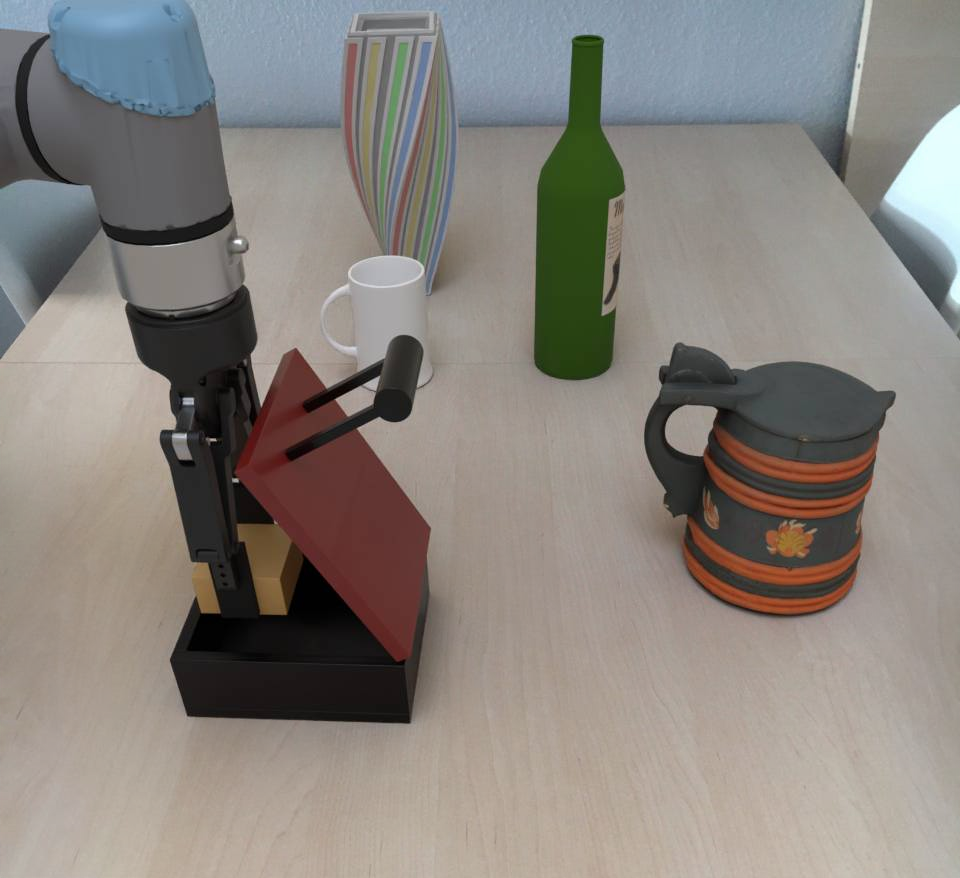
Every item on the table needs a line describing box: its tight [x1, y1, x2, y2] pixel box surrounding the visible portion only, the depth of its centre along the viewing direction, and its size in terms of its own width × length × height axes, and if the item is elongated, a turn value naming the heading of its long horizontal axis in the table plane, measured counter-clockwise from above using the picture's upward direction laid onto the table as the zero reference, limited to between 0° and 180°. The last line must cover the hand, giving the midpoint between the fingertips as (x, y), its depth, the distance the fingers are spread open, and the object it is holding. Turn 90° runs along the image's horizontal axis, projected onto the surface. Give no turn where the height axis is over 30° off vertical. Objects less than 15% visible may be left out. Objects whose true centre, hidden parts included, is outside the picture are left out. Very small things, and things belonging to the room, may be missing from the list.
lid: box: [234, 335, 432, 662], centre depth 70 cm, size 18×15×11 cm
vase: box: [339, 10, 460, 296], centre depth 122 cm, size 14×14×30 cm
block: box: [190, 523, 303, 615], centre depth 77 cm, size 6×6×4 cm
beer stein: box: [643, 341, 897, 616], centre depth 83 cm, size 19×15×20 cm
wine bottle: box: [533, 34, 627, 381], centre depth 106 cm, size 9×9×32 cm
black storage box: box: [169, 553, 431, 724], centre depth 80 cm, size 17×15×6 cm
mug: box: [319, 255, 434, 392], centre depth 111 cm, size 12×8×12 cm
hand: (251, 583), depth 78 cm, fingers closed on block, 6 cm apart
